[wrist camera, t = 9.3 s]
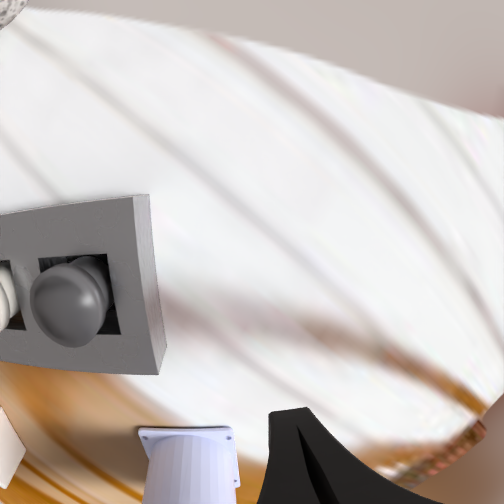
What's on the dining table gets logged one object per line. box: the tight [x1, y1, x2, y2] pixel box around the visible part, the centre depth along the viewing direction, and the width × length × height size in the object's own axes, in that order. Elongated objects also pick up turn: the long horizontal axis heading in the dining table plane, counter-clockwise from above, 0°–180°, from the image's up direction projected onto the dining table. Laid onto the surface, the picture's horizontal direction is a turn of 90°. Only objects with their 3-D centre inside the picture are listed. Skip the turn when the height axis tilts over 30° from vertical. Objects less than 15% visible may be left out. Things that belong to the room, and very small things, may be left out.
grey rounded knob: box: [30, 256, 114, 348], centre depth 14 cm, size 4×4×4 cm
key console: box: [0, 194, 167, 375], centre depth 15 cm, size 10×22×4 cm, turn 92°
